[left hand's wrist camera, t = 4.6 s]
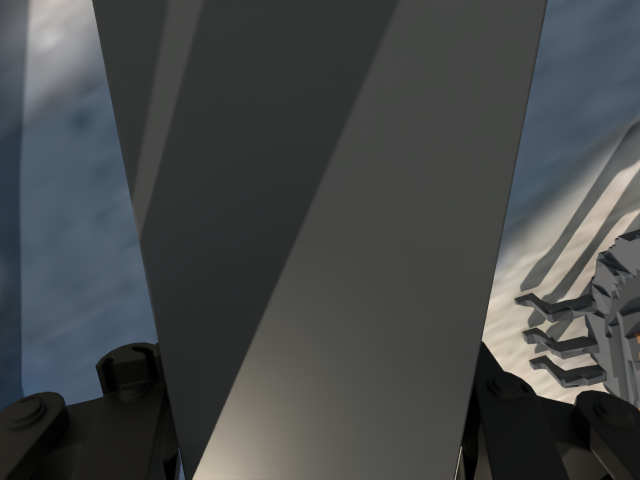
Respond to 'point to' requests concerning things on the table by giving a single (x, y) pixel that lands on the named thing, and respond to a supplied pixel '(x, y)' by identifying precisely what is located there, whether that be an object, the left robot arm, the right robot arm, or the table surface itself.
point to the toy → (599, 325)
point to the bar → (319, 219)
